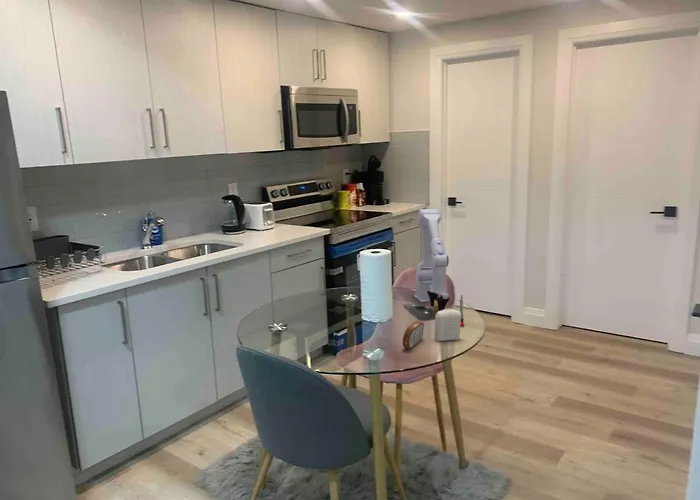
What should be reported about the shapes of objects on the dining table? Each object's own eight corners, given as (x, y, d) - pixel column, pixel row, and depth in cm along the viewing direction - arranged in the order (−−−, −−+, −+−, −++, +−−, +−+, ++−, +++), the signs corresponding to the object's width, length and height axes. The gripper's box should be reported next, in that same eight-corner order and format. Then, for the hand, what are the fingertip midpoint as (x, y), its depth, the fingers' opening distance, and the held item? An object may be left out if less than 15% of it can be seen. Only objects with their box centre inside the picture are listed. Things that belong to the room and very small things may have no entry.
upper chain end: (409, 311, 242) (410, 305, 241) (423, 310, 244) (424, 304, 243) (420, 320, 231) (420, 314, 231) (435, 318, 234) (435, 312, 233)
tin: (417, 337, 214) (418, 317, 212) (424, 338, 213) (425, 318, 211) (401, 350, 202) (402, 329, 200) (409, 352, 200) (410, 331, 198)
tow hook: (442, 328, 225) (464, 327, 224) (442, 298, 222) (465, 298, 221) (440, 320, 233) (461, 320, 232) (440, 292, 230) (462, 292, 229)
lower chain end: (403, 306, 248) (403, 303, 248) (417, 305, 250) (417, 301, 250) (415, 316, 236) (416, 312, 235) (430, 315, 238) (430, 311, 238)
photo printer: (456, 335, 216) (458, 307, 213) (461, 340, 212) (463, 310, 209) (432, 337, 213) (434, 308, 210) (436, 342, 209) (438, 312, 206)
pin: (432, 311, 242) (433, 299, 241) (438, 311, 243) (439, 298, 242) (435, 313, 240) (436, 301, 238) (441, 313, 240) (442, 300, 239)
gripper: (423, 276, 243) (422, 304, 246) (438, 285, 230) (436, 315, 233) (437, 275, 245) (435, 303, 249) (453, 284, 232) (451, 313, 235)
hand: (437, 309), depth 241 cm, fingers open, 7 cm apart
